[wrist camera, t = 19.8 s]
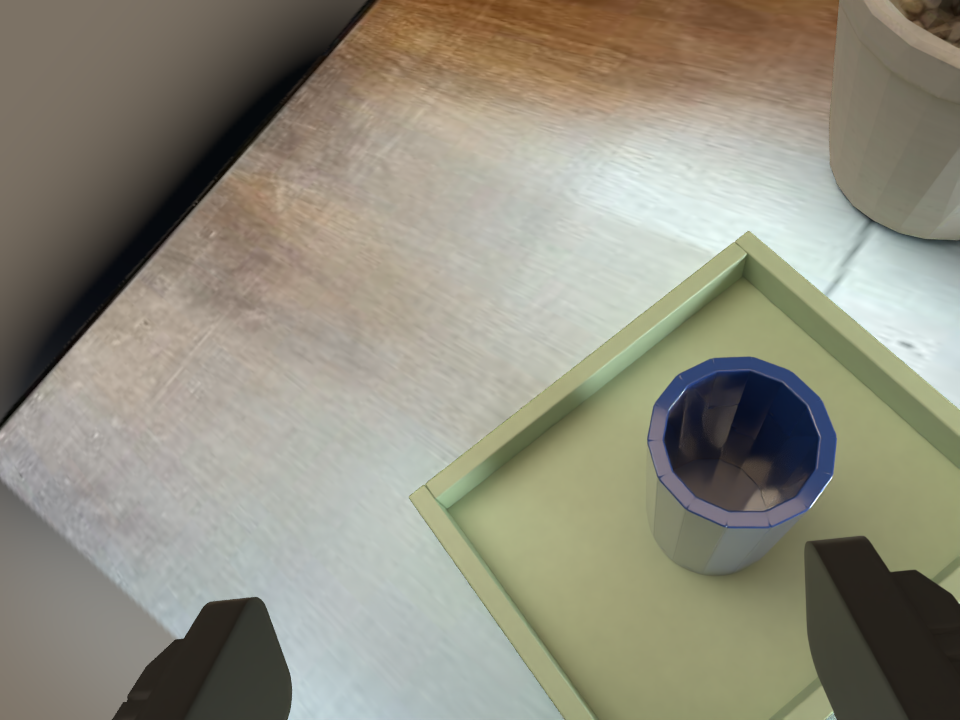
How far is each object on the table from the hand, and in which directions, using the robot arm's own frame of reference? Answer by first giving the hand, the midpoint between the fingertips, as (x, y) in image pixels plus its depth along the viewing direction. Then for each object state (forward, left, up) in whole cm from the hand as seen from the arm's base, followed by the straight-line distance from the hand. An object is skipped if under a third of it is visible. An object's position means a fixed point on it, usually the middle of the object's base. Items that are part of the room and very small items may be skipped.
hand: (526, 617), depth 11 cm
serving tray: (+7, +1, -19) cm, 20 cm away
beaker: (+7, +1, -18) cm, 20 cm away
